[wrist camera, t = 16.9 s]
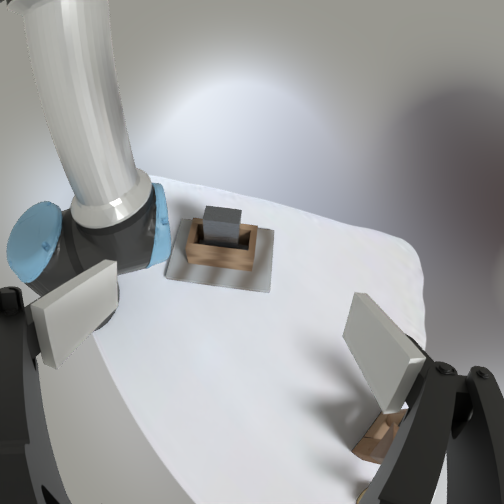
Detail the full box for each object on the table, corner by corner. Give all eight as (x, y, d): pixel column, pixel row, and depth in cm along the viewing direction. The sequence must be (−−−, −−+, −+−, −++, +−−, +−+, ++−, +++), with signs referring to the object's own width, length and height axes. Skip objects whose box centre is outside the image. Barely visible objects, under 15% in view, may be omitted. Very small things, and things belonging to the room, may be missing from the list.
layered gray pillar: (205, 257, 56) (202, 219, 45) (208, 244, 57) (206, 205, 47) (236, 261, 56) (239, 224, 45) (238, 248, 57) (241, 209, 47)
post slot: (166, 278, 53) (160, 262, 48) (182, 221, 61) (178, 201, 55) (269, 292, 54) (274, 277, 48) (273, 233, 61) (278, 214, 56)
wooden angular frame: (350, 451, 39) (406, 463, 23) (384, 406, 43) (445, 396, 28) (363, 460, 37) (421, 473, 22) (395, 416, 42) (458, 408, 27)
